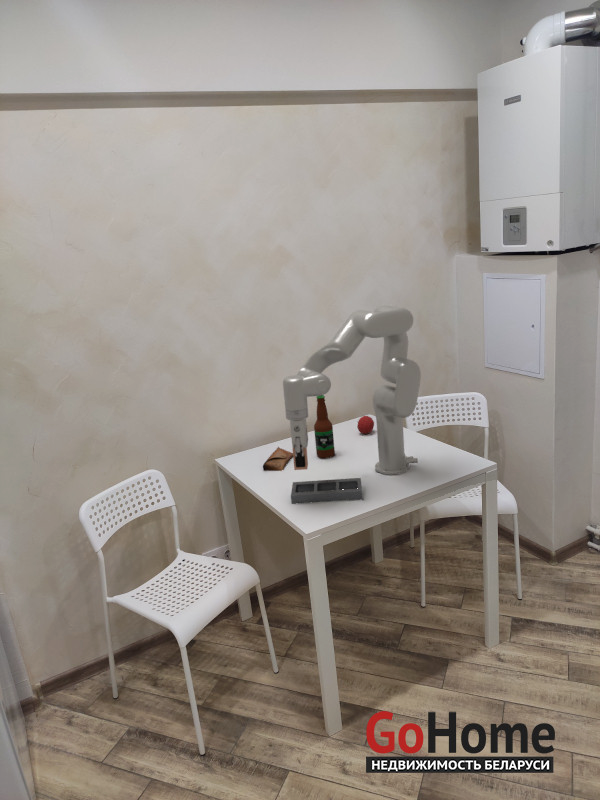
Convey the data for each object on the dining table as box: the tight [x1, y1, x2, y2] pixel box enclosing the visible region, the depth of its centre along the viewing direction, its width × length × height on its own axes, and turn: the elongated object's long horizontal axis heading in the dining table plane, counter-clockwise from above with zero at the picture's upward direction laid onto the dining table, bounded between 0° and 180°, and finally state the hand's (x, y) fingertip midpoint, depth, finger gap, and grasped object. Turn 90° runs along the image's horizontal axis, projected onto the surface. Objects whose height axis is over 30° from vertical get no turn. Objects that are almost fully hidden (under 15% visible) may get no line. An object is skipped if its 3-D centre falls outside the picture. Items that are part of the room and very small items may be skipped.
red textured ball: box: [357, 415, 375, 435], centre depth 265 cm, size 8×8×8 cm
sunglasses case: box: [262, 446, 293, 472], centre depth 243 cm, size 18×7×7 cm, turn 165°
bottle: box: [313, 394, 336, 460], centre depth 242 cm, size 7×7×25 cm
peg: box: [292, 445, 309, 471], centre depth 207 cm, size 4×4×8 cm
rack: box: [290, 477, 364, 505], centre depth 210 cm, size 24×11×3 cm, turn 87°
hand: (301, 463), depth 208 cm, fingers closed on peg, 4 cm apart
